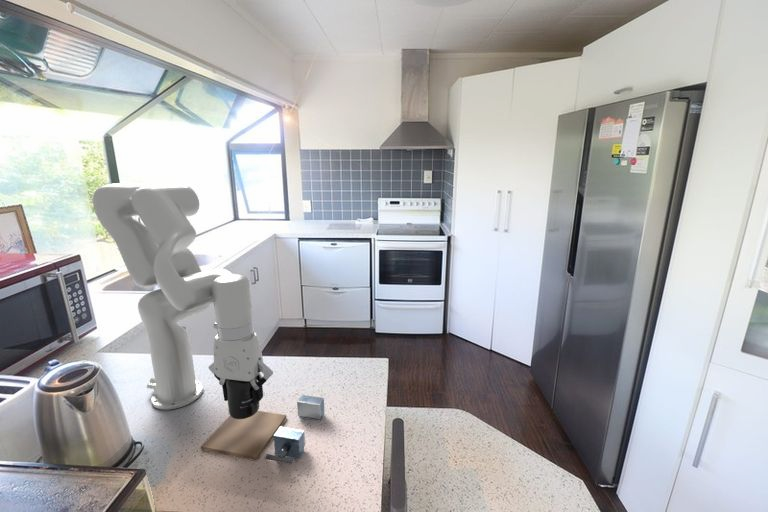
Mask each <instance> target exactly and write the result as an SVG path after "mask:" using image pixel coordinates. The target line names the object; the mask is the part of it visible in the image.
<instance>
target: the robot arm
mask: <svg viewBox="0 0 768 512" xmlns="http://www.w3.org/2000/svg"><path fill="white" fill-rule="evenodd" d="M92 205H93V209H94V213H95V215H96V218H97V219H98V221H99V222H100V224H101V225H102V227H103V228H104V230H106V232H107V233H108V234H109V235H110V237H111V238H112V239H113V241H114V242H115V244H116V246H117V248H118V251H119V254H120V255H121V258H122V260H123V262H124V264H125V265H124V266H125V267H126V269H127V272H128V274H129V275H130V276H129V277H130V278H131V280H132V281H133V283H134V284H135V285H136V286H138V287H140V288H148V287H149V288H150V287H154V286H158V287H159V289H154V290H152V291H149V292H148V293H146V294H145V295H143V296H142V297H141V298H140V299H139V301H138V303H137V309H138V314H139V316H140V317H139V318H140V320H141V321H142V324H143V327H144V330H145V334H146V337H147V342H148V348H149V353H150V359H151V365H152V371H153V376H152V377H150V379H149V382H148V383H147V385H146V388H147V389H150V390H151V389H153V392H154V393H153V395H152V396H151V399H150V400H151V404H152V406H153V407H154V408H155V409H157V410H162V411H163V410H166V411H167V410H173V409H174V410H175V409H179V408H183V407H185V406H188V405H190V404H192V403H193V402H194V401H196V400H197V399H198V398H199V397H200V396H201V395H202V393H203V391H204V387H203V386H204V385H203V384H202V382H201V381H199V380H196V375H195V365H194V359H193V352H192V345H191V338H190V333H189V332H188V330H187V329H186V328H185V327H182V326H181V325H180V324H179V322H180V321H183V320H184V319H187V318H189V317H192V316H195V315H198V314H200V313H203V312H206V310H208V309H209V308H210V307H211V305H212V304H213V306H214V316H215V323H213V329H215V330H217V334H216V335H215V337H214V341H213V362H212V363H211V364H210V365H208V370H209V371H210V372H211V373H212V374H213V377H214V378H215V379H217V380H218V381H219V382H218V384H219V385H220V386H221V387H222V394H223V400H224V401H225V402H228V399H227V389H226V381H227V379H230V380H238V381H246V382H250V383H251V384H252V386H253V389H252V400H253V405H257V404H258V402H259V403H260V401H261V400H262V399H263V398H264V389H263V385H264V384H265V383H266V382H267V381H268V380H269V379H270V378H271V377H272V376H273V374H274V371H273V370H272V369H271V368H270V367H269V366H267V365H266V363H264V359H263V353H262V348H261V347H262V346H261V344H260V340H259V336H258V334H257V332H255V329H254V319H253V317H254V316H253V308H252V307H253V306H252V297H251V287H250V282H249V281H250V280H249V279H248V277H247V276H246V275H244V274H240V273H233V272H232V271H231V270H229V269H227V268H224V267H217V268H212V269H208V270H203V271H202V270H201V268H200V267H201V266H200V265H199V263H198V260H197V258H196V256H195V255H194V253H193V252H192V250H190V249H189V246H190V245H192V243H193V242H194V241H195V239H196V237H197V231H196V228H195V227H194V226H193V225H192V224H191V222H190V220H189V219H188V218H187V217H191V216H194V215H196V214H197V212H199V209H200V200H199V196H198V194H197V193H196V192H195V191H194V189H193V188H192V187H191V186H190V185H187V184H185V183H176V182H175V183H174V182H169V181H145V182H141V181H140V182H118V183H117V182H116V183H111V184H109V183H108V184H106V185H102V186H100V187H98V188H97V189H96V190H95V191H94V193H93V195H92ZM136 216H138V217H139V218H140V220H141V221H142V223H141V222H140V221H138V220H136V219H134V218H133V217H136ZM262 375H263V376H262ZM255 378H256V379H257V381H258V382H257V381H256V379H255Z"/></svg>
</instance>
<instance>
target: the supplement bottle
mask: <svg viewBox="0 0 768 512" xmlns="http://www.w3.org/2000/svg"><path fill="white" fill-rule="evenodd" d="M255 379H256V378H255ZM256 381H257V382H258V380H257V379H256ZM226 389H227V399H228V400H227V405H228V408H227V409H228V413H229V414H228V415H229V416H231V417H232V418H235V419H246V418H249V417H251V416H253V415H254V414H255V413H256V412H257V411H259V410H260V401H259V402H258V404H257V405H253V400H252V389H253V386H252V384H251V383H250V382H246V381H238V380H230V379H227V381H226Z"/></svg>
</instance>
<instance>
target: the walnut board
mask: <svg viewBox="0 0 768 512" xmlns="http://www.w3.org/2000/svg"><path fill="white" fill-rule="evenodd" d="M286 420H287V415H286V414H280V413H275V412H270V411H269V412H268V411H263V410H258V411H257V412H256V413H255V414H254V415H253V416H251V417H249V418H246V419H235V418H232V417H231V416H230V415H229V416H228V417H227V418H226V419H225V420H224V421H223V422H222V423H221V425H219V426H218V427H217V429H216V430H215V431H214V432H213V433H212V434H211V435H210V436H209V438H207V439H206V441H205V442H203V444H202V445H201V446H200V450H201V451H205V452H208V453H209V452H210V453H214V454H220V455H225V456H231V457H234V458H241V459H246V460H252V461H255V462H257V461H258V460H259V458H260V457H261V455H262V454H263V453H264V451H265V450H266V449H267V447H268V446H269V444H270V443H271V441H272V440H273V439H274V434H275V433H276V431H277V430H278V429H279V427H280V426H281V427H283V426H282V425H284V422H285V421H286Z"/></svg>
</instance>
